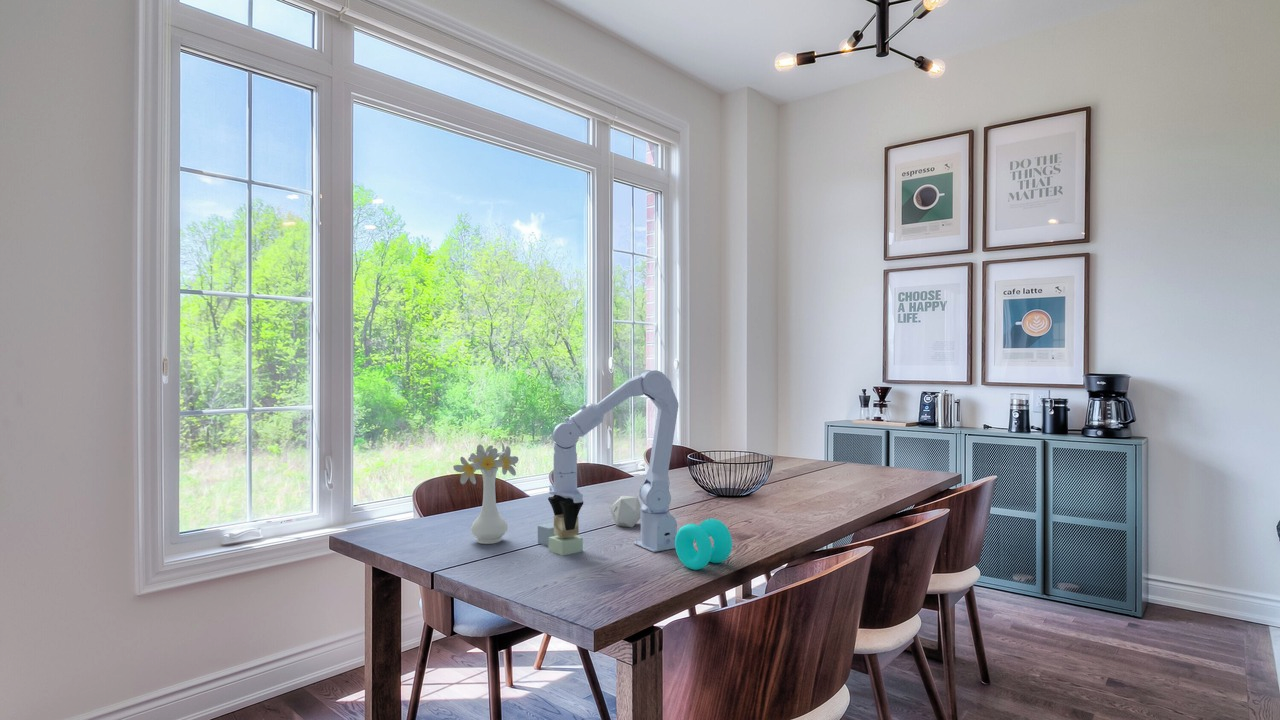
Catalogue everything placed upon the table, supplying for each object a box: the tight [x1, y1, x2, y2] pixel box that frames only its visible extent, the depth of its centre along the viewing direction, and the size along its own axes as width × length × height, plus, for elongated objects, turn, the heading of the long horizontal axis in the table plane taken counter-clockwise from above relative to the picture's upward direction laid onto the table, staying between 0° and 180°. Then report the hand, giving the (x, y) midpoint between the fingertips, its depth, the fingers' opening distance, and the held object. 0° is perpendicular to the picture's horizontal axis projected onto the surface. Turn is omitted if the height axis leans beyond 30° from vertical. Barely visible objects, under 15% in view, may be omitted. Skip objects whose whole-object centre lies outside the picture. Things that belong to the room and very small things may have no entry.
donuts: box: [674, 518, 733, 571], centre depth 151 cm, size 10×10×10 cm
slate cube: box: [537, 522, 557, 547], centre depth 171 cm, size 4×4×4 cm
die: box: [609, 495, 642, 528], centre depth 189 cm, size 8×9×10 cm
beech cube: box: [553, 514, 579, 538], centre depth 164 cm, size 4×4×4 cm
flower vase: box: [452, 442, 519, 545], centre depth 172 cm, size 13×18×25 cm
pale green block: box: [548, 535, 584, 556], centre depth 163 cm, size 6×6×4 cm
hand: (565, 527), depth 164 cm, fingers closed on beech cube, 4 cm apart
